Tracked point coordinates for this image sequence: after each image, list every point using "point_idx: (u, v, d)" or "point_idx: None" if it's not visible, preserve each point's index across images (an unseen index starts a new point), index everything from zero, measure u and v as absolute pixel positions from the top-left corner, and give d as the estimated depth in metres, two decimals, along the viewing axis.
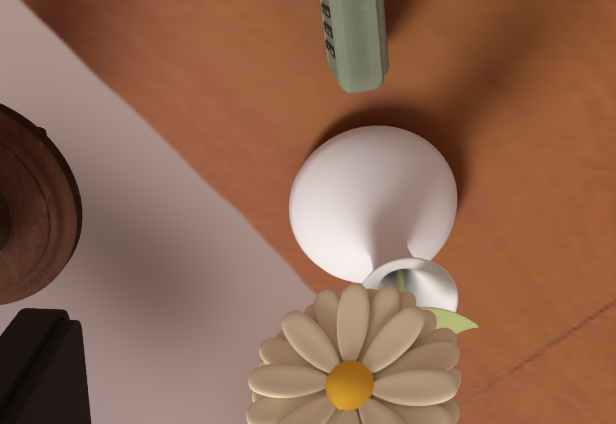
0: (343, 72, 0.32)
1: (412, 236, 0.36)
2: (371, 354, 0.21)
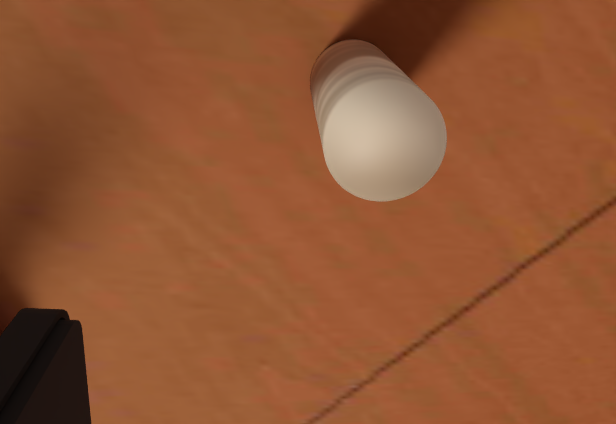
0: None
1: None
2: None
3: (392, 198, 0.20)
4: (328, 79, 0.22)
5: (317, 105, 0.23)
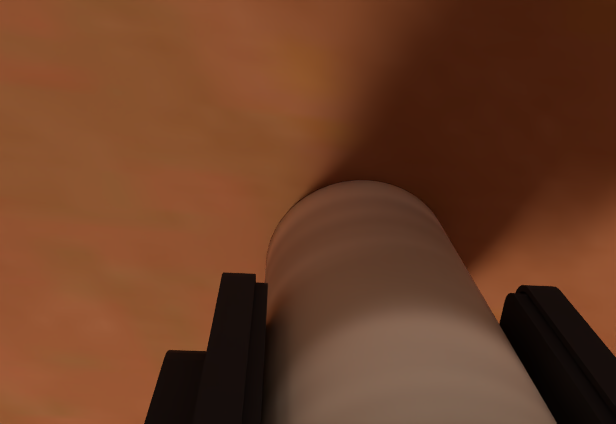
0: None
1: None
2: None
3: None
4: (288, 401, 0.07)
5: None
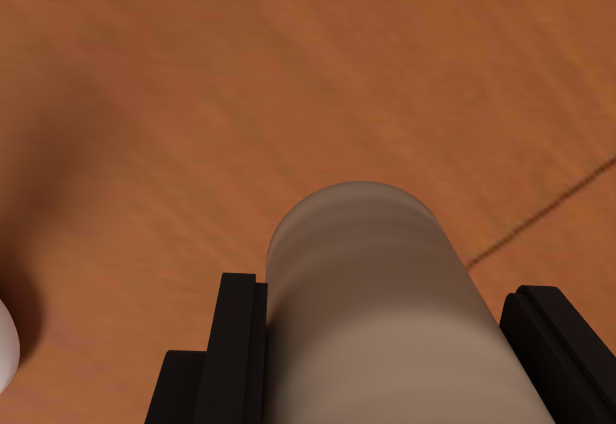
0: None
1: None
2: None
3: None
4: (288, 401, 0.07)
5: None
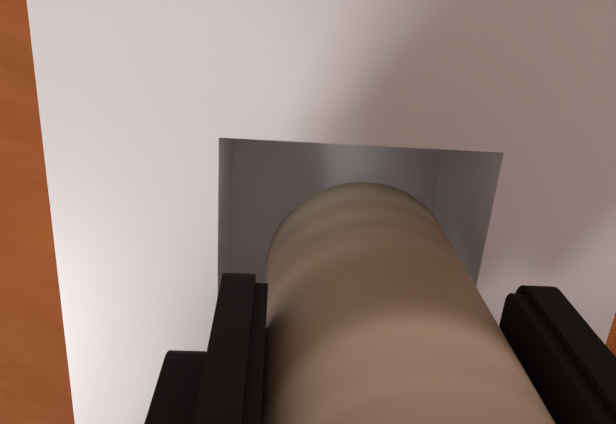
0: None
1: None
2: None
3: None
4: (288, 404, 0.07)
5: None
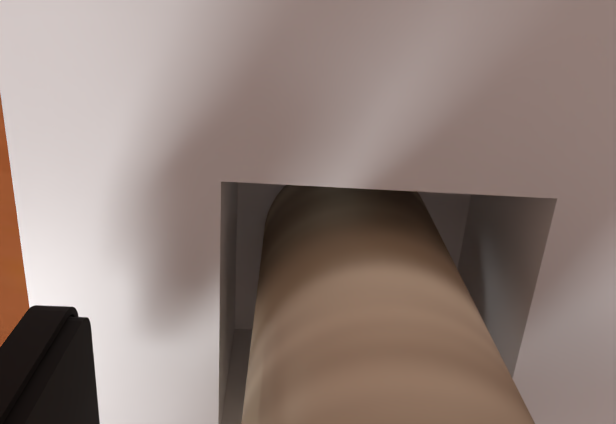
0: None
1: None
2: None
3: None
4: (273, 335, 0.08)
5: (244, 397, 0.09)
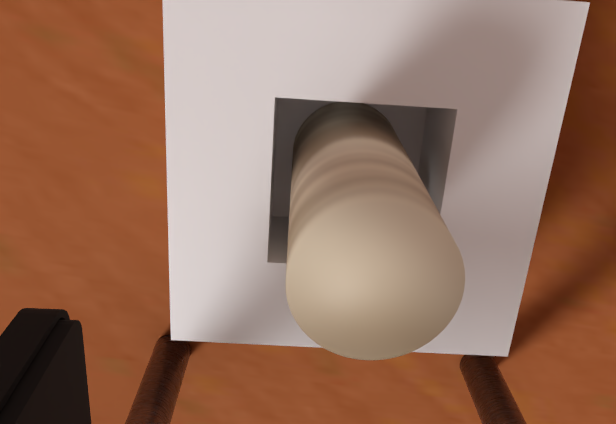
0: None
1: None
2: None
3: (386, 356, 0.14)
4: (305, 170, 0.17)
5: (290, 204, 0.17)
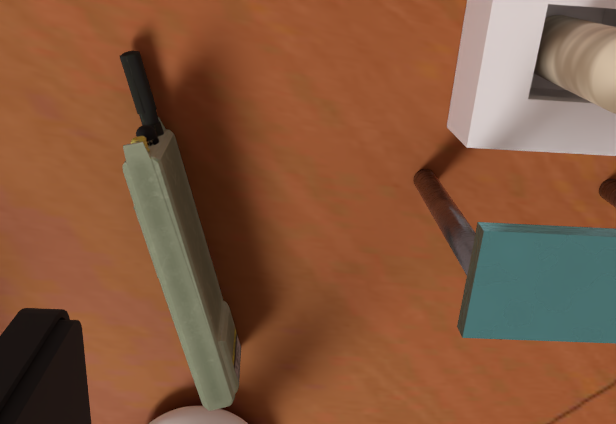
0: (202, 398, 0.43)
1: None
2: None
3: None
4: (570, 38, 0.33)
5: (561, 56, 0.33)
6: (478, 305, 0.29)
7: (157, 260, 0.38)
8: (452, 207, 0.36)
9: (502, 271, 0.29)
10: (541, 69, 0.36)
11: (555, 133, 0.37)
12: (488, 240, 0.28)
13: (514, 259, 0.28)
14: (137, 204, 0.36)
